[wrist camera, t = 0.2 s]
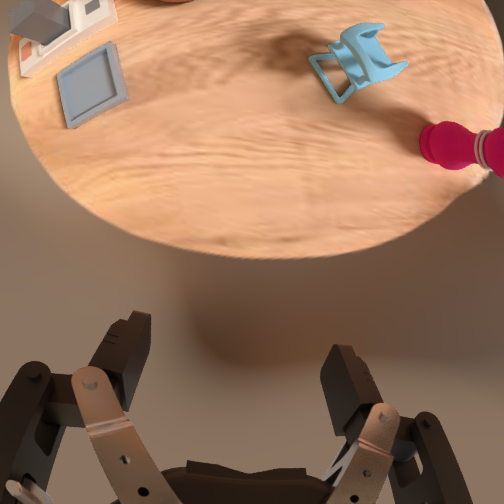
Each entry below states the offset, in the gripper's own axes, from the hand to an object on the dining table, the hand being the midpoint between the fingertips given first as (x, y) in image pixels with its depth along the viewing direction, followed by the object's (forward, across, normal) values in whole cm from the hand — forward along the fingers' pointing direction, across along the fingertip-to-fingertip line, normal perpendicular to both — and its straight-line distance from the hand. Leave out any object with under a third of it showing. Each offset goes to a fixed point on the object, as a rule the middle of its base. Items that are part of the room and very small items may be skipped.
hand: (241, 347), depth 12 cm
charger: (+27, +34, -24) cm, 50 cm away
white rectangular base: (+30, +34, -24) cm, 51 cm away
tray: (+30, +25, -14) cm, 41 cm away
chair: (+30, -10, -22) cm, 38 cm away
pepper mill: (+29, -27, -16) cm, 43 cm away
